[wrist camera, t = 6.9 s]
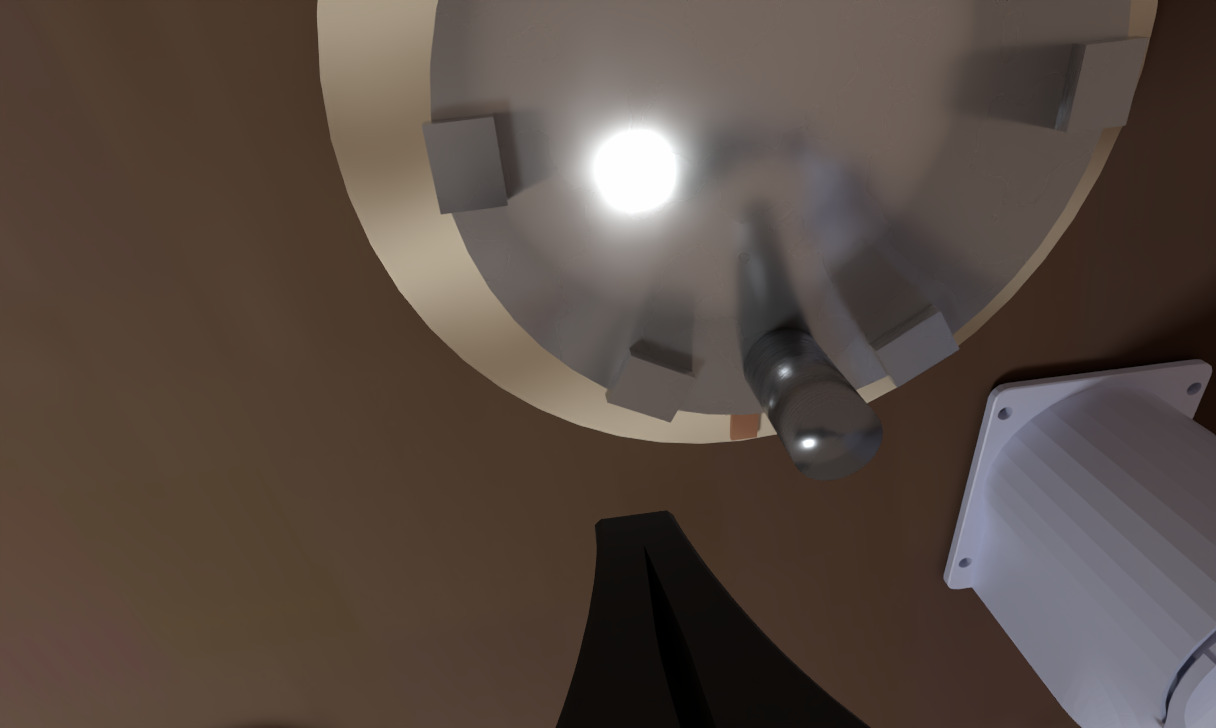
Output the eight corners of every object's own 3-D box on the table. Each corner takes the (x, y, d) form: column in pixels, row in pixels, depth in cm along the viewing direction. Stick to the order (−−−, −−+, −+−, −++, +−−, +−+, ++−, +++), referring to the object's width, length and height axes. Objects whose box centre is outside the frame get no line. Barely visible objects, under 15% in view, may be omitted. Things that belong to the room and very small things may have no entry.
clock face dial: (1151, -349, 14) (1491, -505, 9) (1003, 336, 21) (1148, 444, 17) (351, -285, 13) (266, -427, 8) (494, 413, 20) (494, 552, 16)
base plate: (1014, 377, 24) (1047, 404, 23) (419, 452, 23) (414, 487, 21) (1243, -475, 14) (1327, -522, 13) (205, -461, 13) (167, -515, 11)
